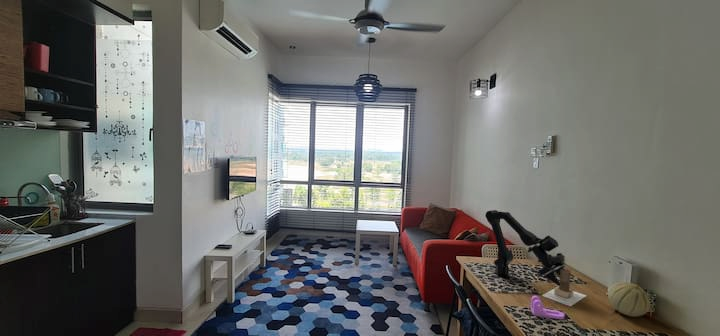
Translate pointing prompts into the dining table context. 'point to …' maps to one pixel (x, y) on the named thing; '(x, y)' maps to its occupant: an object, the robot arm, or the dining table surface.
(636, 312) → the cantaloupe
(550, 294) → the board
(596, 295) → the dining table surface
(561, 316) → the bracket
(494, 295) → the dining table surface
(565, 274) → the brown piece
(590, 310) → the dining table surface
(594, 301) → the dining table surface
